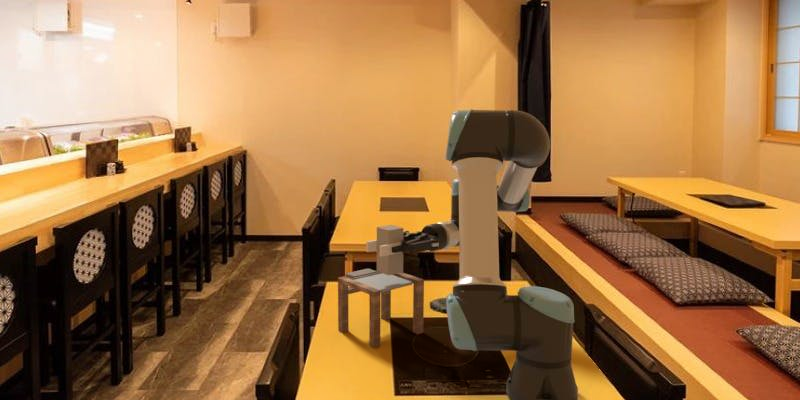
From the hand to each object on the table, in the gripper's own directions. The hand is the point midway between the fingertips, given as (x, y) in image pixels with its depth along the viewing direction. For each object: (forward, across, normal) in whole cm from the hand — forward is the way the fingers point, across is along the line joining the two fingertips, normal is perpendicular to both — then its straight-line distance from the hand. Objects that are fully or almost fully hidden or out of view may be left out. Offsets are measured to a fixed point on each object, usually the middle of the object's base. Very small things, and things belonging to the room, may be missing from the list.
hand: (373, 249), depth 163 cm
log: (-33, +6, -25) cm, 42 cm away
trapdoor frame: (-5, +3, -25) cm, 25 cm away
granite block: (-5, 0, -7) cm, 9 cm away
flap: (-5, +6, -11) cm, 14 cm away
